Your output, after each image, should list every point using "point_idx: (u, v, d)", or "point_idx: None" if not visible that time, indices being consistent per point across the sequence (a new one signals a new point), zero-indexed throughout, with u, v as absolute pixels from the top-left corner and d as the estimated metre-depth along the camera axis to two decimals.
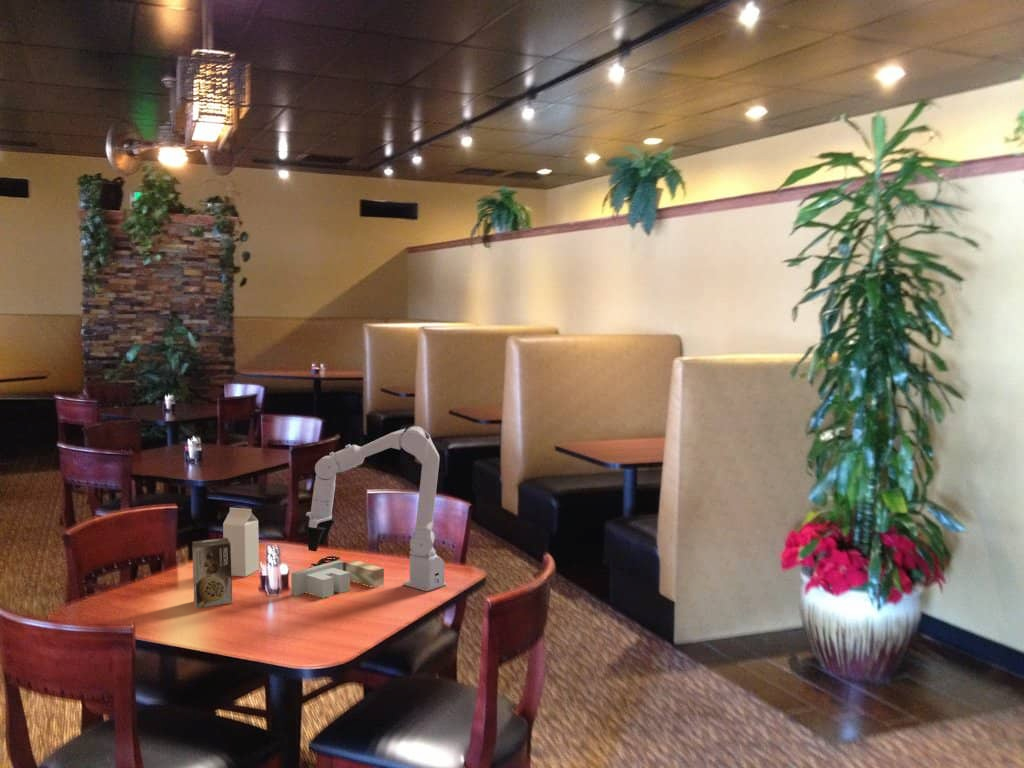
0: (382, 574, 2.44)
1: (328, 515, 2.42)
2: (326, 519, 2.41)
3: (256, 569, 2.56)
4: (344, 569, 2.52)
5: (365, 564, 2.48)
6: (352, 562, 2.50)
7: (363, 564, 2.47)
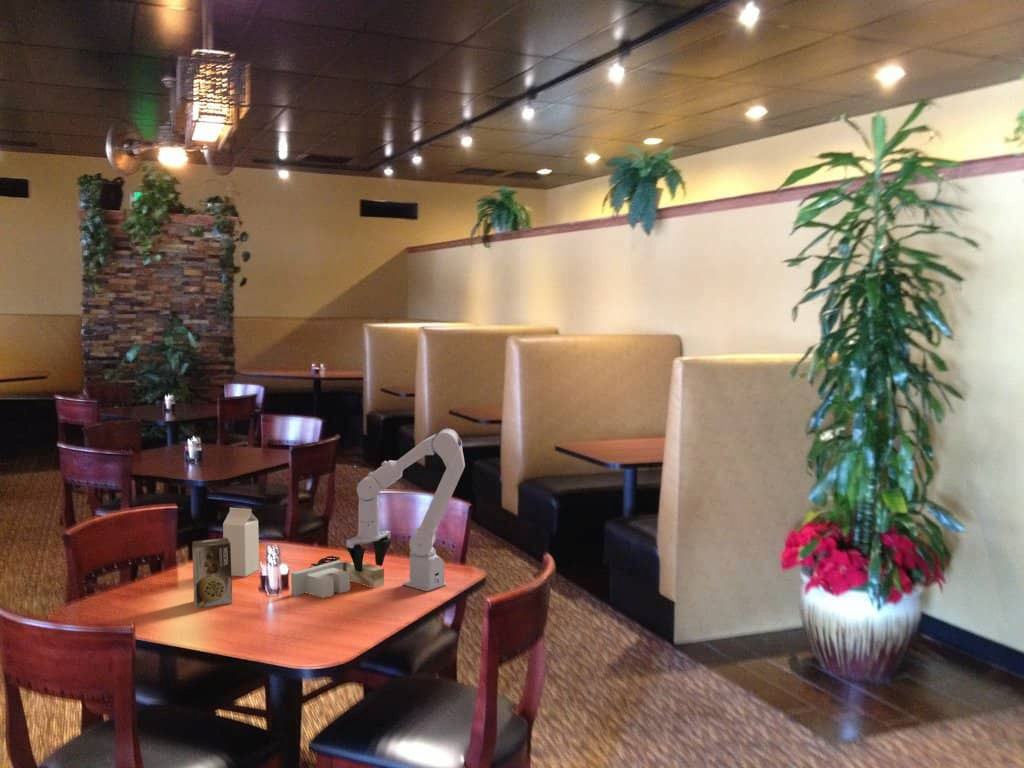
0: (382, 574, 2.44)
1: (371, 536, 2.42)
2: (367, 540, 2.41)
3: (256, 569, 2.56)
4: (344, 569, 2.52)
5: (365, 564, 2.48)
6: (352, 562, 2.50)
7: (364, 564, 2.47)
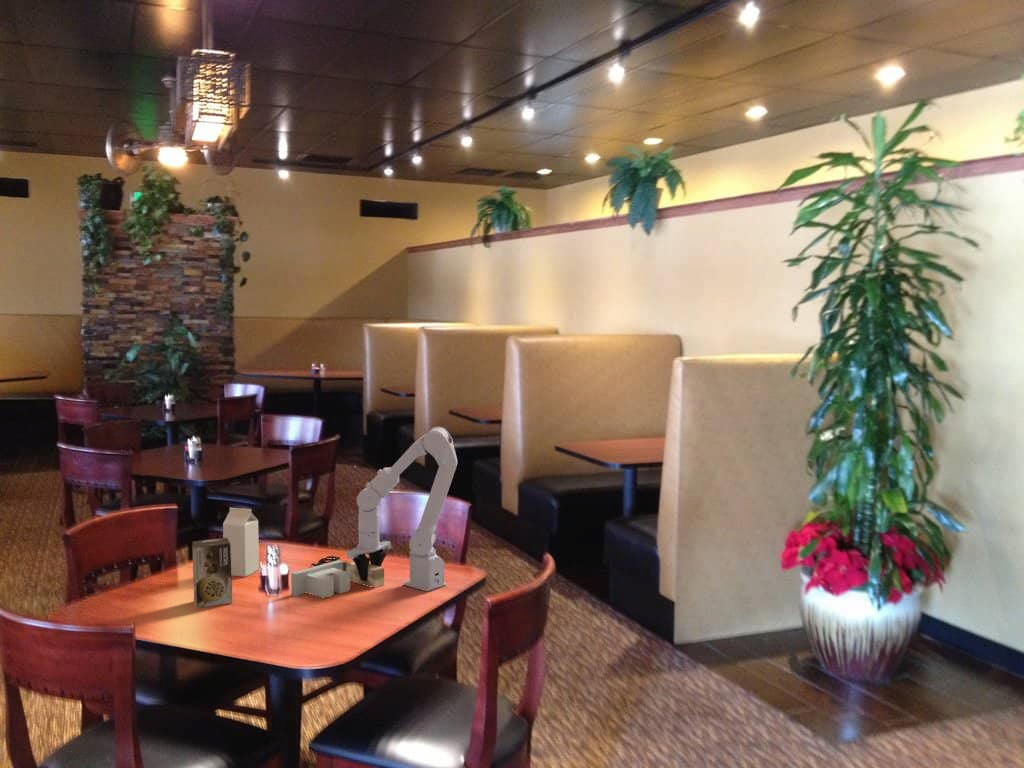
0: (383, 573, 2.44)
1: (371, 547, 2.42)
2: (368, 551, 2.41)
3: (256, 569, 2.56)
4: (344, 569, 2.51)
5: None
6: (352, 562, 2.49)
7: None
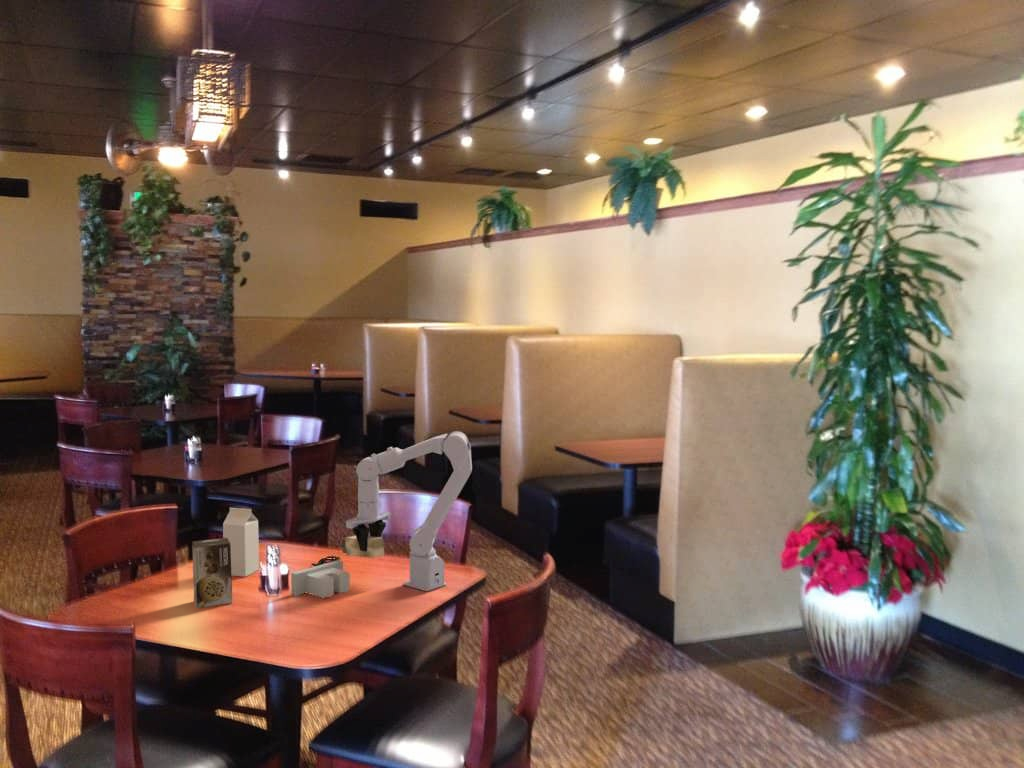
0: (382, 543, 2.43)
1: (370, 517, 2.41)
2: (367, 520, 2.41)
3: (256, 569, 2.56)
4: (344, 545, 2.50)
5: None
6: (351, 536, 2.49)
7: None
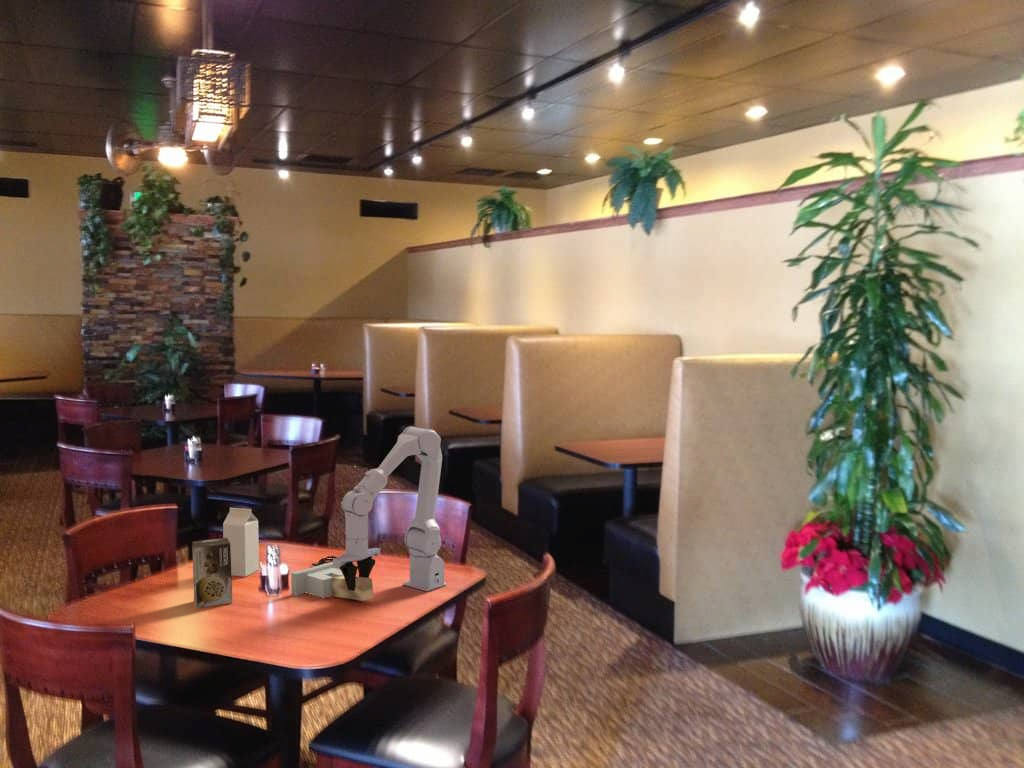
0: (371, 584, 2.29)
1: (359, 554, 2.27)
2: (355, 558, 2.27)
3: (256, 569, 2.56)
4: None
5: None
6: (338, 576, 2.35)
7: None
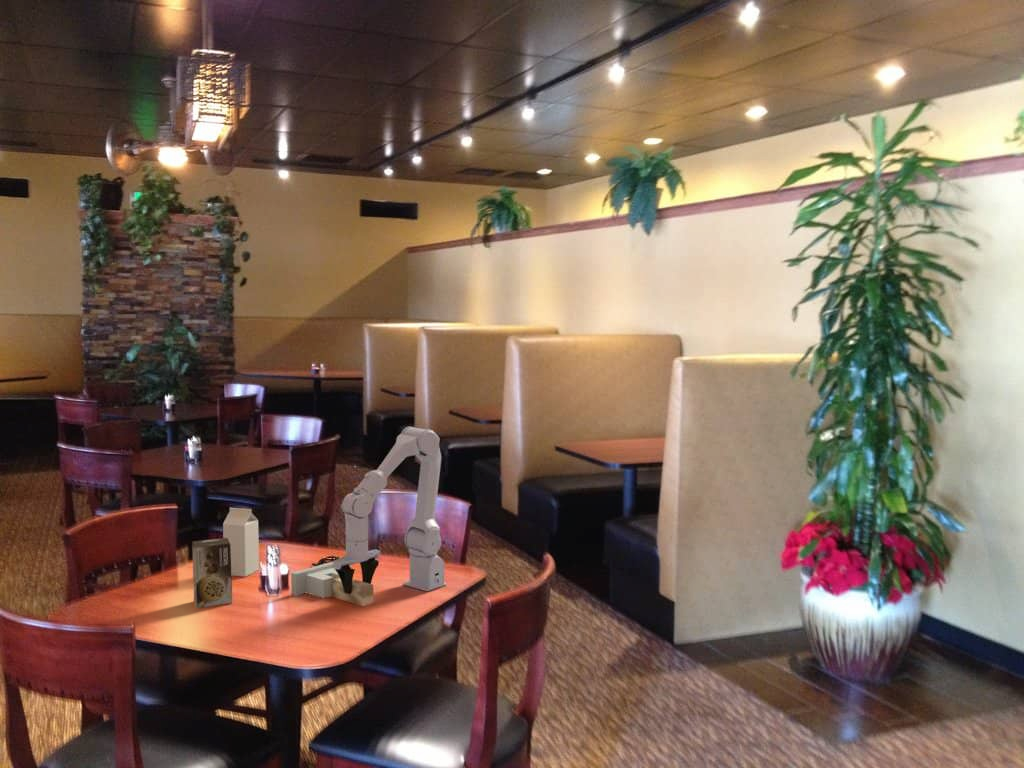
0: (372, 591, 2.29)
1: (359, 556, 2.27)
2: (355, 560, 2.27)
3: (256, 569, 2.56)
4: None
5: (353, 580, 2.33)
6: (339, 578, 2.34)
7: None
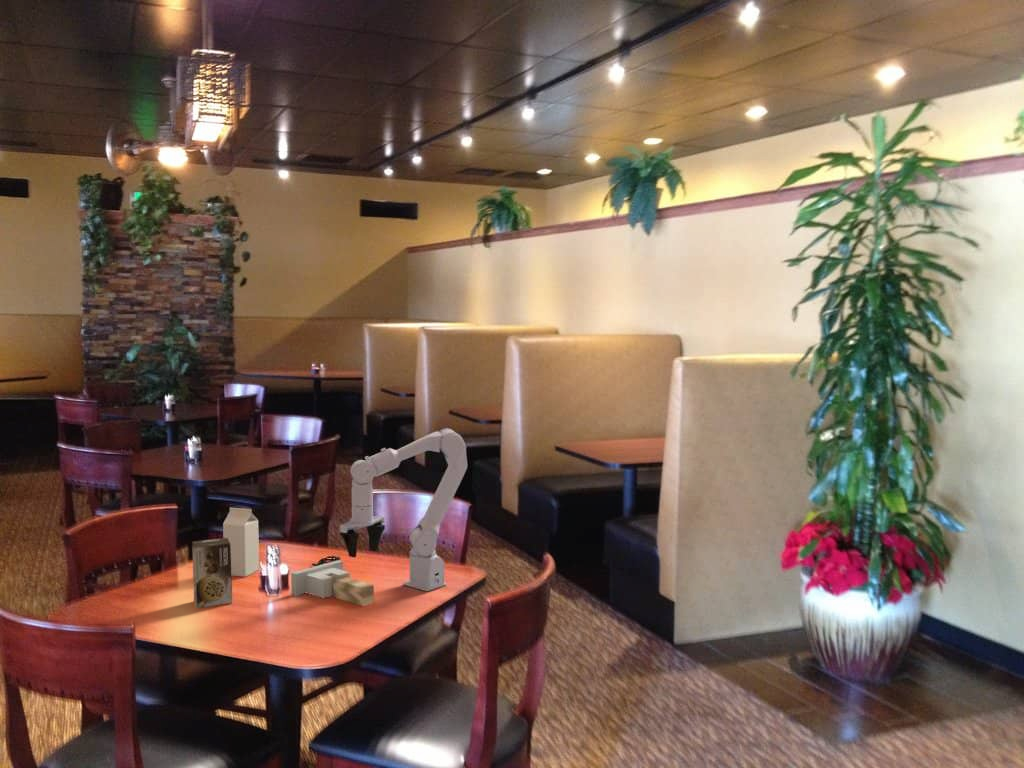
0: (372, 591, 2.29)
1: (365, 520, 2.37)
2: (361, 524, 2.36)
3: (256, 569, 2.56)
4: None
5: (354, 580, 2.32)
6: (340, 578, 2.34)
7: (352, 581, 2.32)
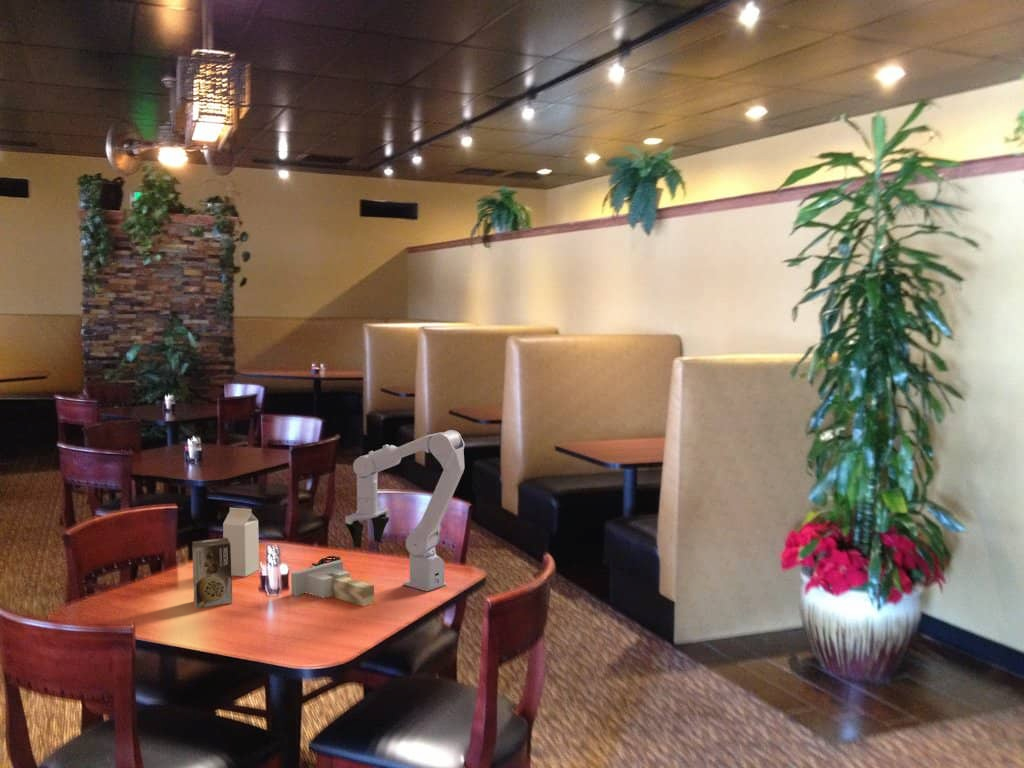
0: (373, 591, 2.29)
1: (369, 512, 2.46)
2: (366, 516, 2.46)
3: (256, 569, 2.56)
4: None
5: (354, 580, 2.32)
6: (340, 578, 2.34)
7: (352, 581, 2.32)
